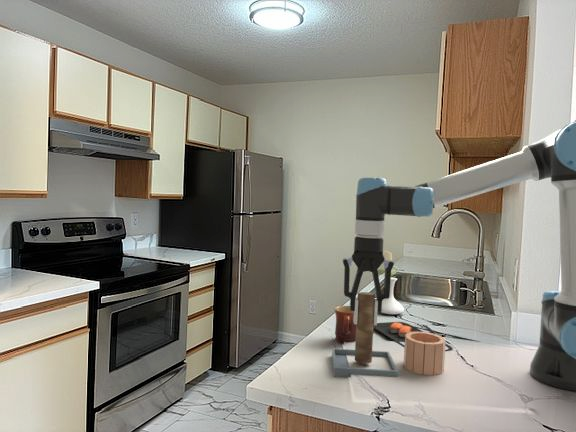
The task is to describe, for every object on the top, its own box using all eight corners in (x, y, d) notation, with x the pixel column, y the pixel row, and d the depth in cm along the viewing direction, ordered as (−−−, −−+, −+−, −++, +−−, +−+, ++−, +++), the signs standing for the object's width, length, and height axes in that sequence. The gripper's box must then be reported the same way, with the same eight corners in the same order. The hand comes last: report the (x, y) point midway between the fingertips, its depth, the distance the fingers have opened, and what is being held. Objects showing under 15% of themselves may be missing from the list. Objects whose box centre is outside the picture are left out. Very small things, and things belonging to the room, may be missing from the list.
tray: (388, 359, 125) (388, 351, 125) (397, 380, 111) (398, 371, 111) (331, 356, 126) (332, 348, 126) (334, 376, 112) (334, 367, 112)
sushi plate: (367, 328, 155) (368, 318, 155) (440, 324, 164) (440, 314, 164) (414, 359, 128) (415, 346, 127) (499, 352, 137) (499, 339, 136)
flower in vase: (403, 310, 180) (406, 249, 178) (404, 318, 168) (407, 253, 167) (371, 307, 183) (373, 247, 181) (369, 314, 171) (372, 250, 170)
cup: (437, 364, 122) (438, 332, 122) (448, 379, 112) (450, 345, 112) (400, 362, 123) (402, 330, 122) (408, 377, 113) (410, 343, 112)
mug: (334, 335, 144) (335, 304, 144) (361, 338, 143) (362, 307, 142) (330, 348, 133) (331, 314, 132) (359, 351, 131) (361, 317, 130)
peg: (370, 357, 121) (373, 292, 120) (372, 364, 116) (376, 296, 115) (353, 356, 121) (356, 291, 120) (355, 363, 116) (358, 295, 115)
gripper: (399, 236, 120) (395, 321, 121) (335, 233, 121) (331, 317, 122) (405, 239, 112) (400, 329, 114) (336, 236, 113) (332, 325, 115)
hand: (364, 323), depth 118 cm, fingers closed on peg, 4 cm apart
